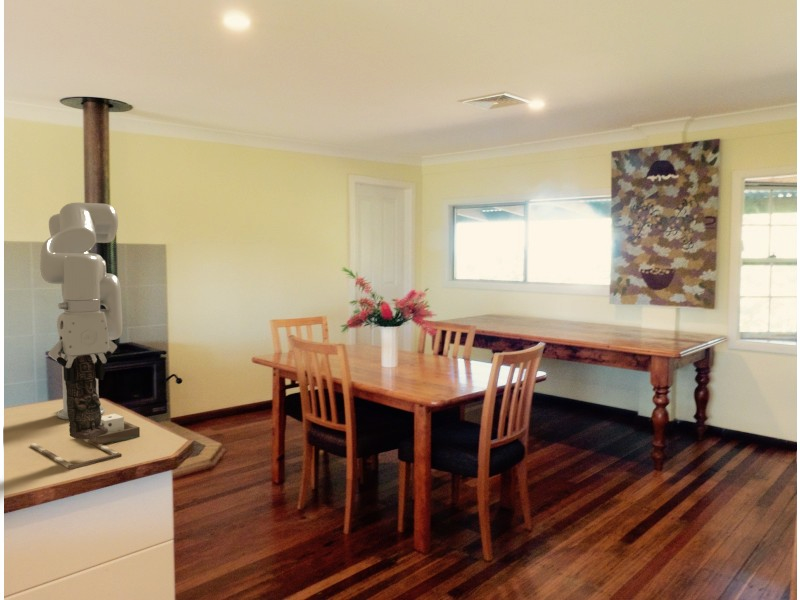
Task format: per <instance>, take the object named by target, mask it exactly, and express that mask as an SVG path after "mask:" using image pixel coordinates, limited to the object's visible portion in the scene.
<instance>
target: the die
mask: <svg viewBox="0 0 800 600" xmlns="http://www.w3.org/2000/svg"><path fill="white" fill-rule="evenodd" d="M101 416H102V418H101V423H100V425H102V426H104V427H106V428H108V433H111V432H116V431H120V430H124V421H125V417H124V416H122V415H120V414H118V413H111V414H104V415H101ZM106 434H107V433H106Z"/></svg>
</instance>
